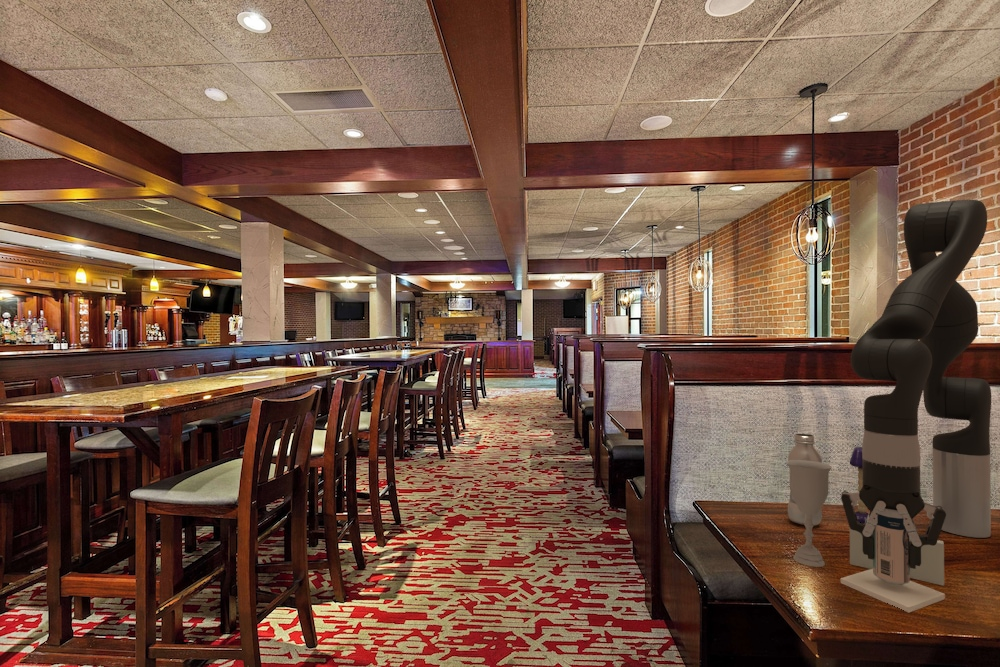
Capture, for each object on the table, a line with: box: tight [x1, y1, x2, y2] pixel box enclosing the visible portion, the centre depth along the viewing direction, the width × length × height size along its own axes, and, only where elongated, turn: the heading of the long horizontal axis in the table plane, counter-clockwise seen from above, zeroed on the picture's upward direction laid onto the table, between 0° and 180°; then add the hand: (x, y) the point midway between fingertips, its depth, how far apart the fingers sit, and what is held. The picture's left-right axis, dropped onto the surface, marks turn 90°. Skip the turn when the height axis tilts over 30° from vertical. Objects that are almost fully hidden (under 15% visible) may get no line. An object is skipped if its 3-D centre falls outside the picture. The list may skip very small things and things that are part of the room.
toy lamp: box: [849, 446, 869, 524], centre depth 113 cm, size 5×5×17 cm
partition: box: [849, 528, 945, 587], centre depth 88 cm, size 13×2×7 cm, turn 52°
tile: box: [840, 569, 946, 614], centre depth 82 cm, size 10×10×1 cm
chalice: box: [786, 460, 833, 568], centre depth 93 cm, size 7×7×18 cm
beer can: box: [873, 508, 911, 585], centre depth 82 cm, size 5×5×12 cm
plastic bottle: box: [787, 433, 823, 527], centre depth 111 cm, size 6×7×20 cm
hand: (891, 561), depth 82 cm, fingers open, 5 cm apart
